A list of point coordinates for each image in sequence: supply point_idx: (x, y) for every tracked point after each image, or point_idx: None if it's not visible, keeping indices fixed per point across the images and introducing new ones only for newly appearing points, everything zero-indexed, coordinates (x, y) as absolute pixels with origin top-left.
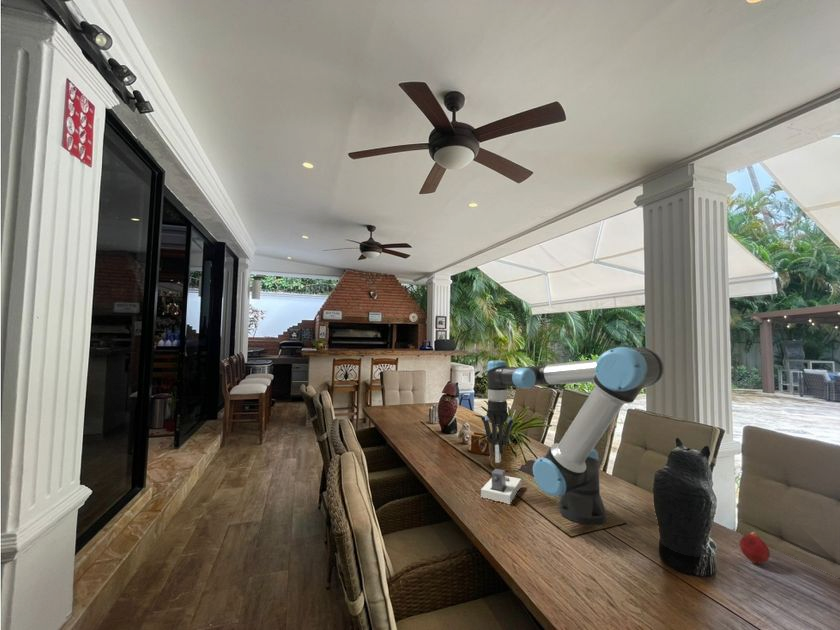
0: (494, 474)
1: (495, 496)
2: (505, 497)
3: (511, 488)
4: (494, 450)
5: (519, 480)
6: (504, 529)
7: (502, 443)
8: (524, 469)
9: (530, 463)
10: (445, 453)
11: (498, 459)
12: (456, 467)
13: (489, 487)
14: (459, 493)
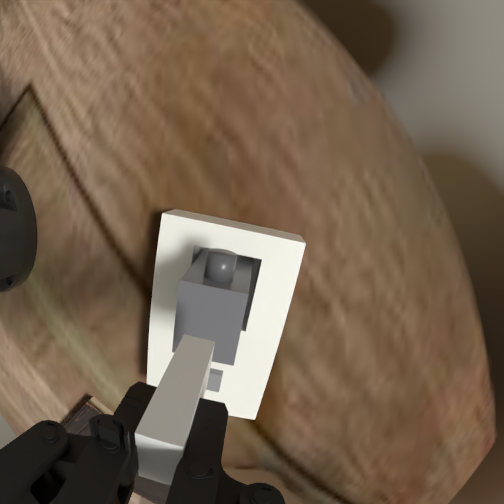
0: (229, 287)
1: (232, 224)
2: (185, 215)
3: (163, 295)
4: (208, 414)
5: (148, 380)
6: (189, 30)
7: (89, 447)
8: None
9: (162, 495)
10: (405, 497)
11: (182, 349)
12: (390, 451)
13: (265, 279)
14: (391, 263)
